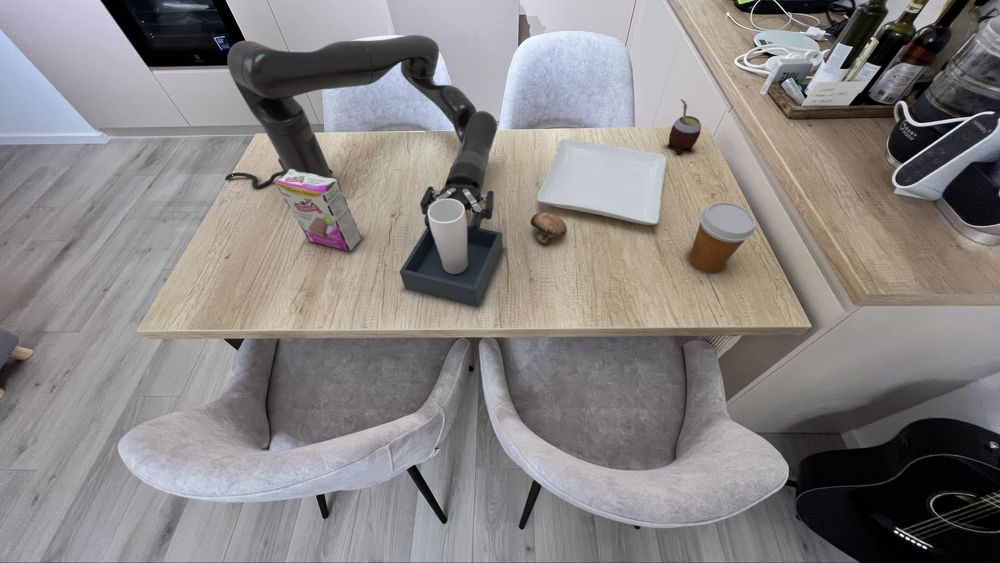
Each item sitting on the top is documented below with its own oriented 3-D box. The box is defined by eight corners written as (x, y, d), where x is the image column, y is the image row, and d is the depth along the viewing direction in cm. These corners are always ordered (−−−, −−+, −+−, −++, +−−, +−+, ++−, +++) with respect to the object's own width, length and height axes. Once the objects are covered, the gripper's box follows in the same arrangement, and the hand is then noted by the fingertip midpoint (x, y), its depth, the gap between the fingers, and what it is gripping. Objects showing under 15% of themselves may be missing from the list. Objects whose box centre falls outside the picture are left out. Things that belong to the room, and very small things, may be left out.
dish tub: (405, 288, 79) (399, 271, 75) (436, 235, 88) (432, 218, 84) (478, 307, 76) (475, 290, 72) (502, 250, 85) (502, 232, 81)
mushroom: (536, 245, 81) (546, 215, 79) (519, 233, 88) (527, 206, 86) (567, 250, 85) (577, 222, 83) (548, 239, 92) (556, 213, 90)
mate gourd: (693, 144, 108) (715, 89, 96) (691, 160, 104) (714, 104, 92) (665, 139, 110) (683, 84, 98) (662, 154, 105) (680, 99, 94)
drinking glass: (463, 282, 79) (454, 227, 67) (433, 272, 80) (419, 217, 69) (477, 258, 83) (471, 202, 71) (448, 250, 84) (438, 194, 73)
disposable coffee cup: (725, 285, 78) (754, 242, 68) (676, 267, 81) (697, 224, 71) (733, 253, 83) (761, 209, 73) (687, 238, 86) (708, 194, 76)
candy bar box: (307, 242, 88) (273, 182, 75) (321, 227, 91) (289, 167, 78) (350, 253, 86) (322, 193, 73) (363, 238, 88) (337, 177, 76)
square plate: (654, 236, 86) (659, 223, 83) (534, 211, 92) (534, 198, 89) (664, 165, 102) (668, 152, 99) (560, 148, 108) (562, 135, 105)
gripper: (500, 192, 87) (488, 245, 77) (437, 187, 89) (417, 238, 79) (499, 163, 81) (486, 216, 71) (432, 158, 83) (410, 210, 73)
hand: (450, 227), depth 75 cm, fingers open, 8 cm apart
